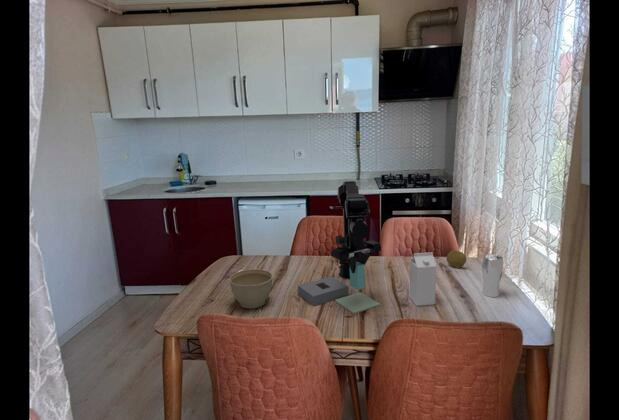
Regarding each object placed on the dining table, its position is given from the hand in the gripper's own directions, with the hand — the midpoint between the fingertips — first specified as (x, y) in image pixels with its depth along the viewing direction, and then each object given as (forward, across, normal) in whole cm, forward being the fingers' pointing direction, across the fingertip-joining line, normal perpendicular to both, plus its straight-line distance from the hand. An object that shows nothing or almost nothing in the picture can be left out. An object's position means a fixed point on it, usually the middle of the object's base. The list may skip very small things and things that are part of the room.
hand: (356, 271), depth 136 cm
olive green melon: (+13, -59, -4) cm, 60 cm away
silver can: (+13, -47, +22) cm, 53 cm away
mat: (+12, 0, 0) cm, 13 cm away
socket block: (+12, +7, -13) cm, 19 cm away
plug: (+6, 0, 0) cm, 6 cm away
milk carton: (+13, -21, +12) cm, 27 cm away
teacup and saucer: (+13, +29, -50) cm, 59 cm away
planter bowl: (+13, +33, -22) cm, 42 cm away
